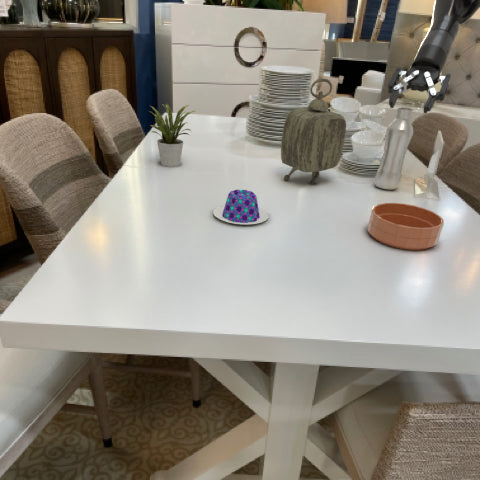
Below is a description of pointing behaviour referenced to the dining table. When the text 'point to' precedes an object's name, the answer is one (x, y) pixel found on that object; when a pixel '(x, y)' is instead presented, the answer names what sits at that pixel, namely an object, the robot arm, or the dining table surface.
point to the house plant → (170, 136)
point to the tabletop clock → (313, 137)
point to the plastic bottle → (395, 150)
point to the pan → (405, 226)
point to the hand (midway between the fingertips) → (407, 108)
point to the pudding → (241, 209)
